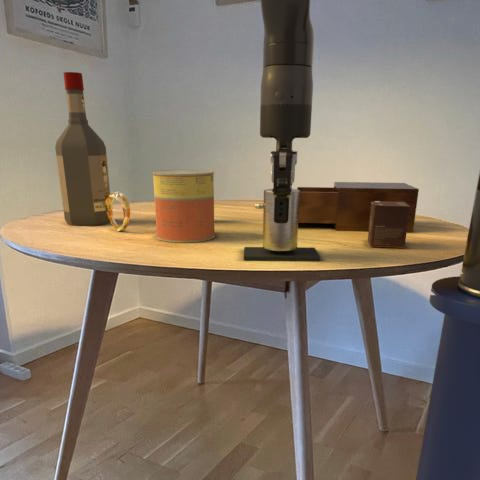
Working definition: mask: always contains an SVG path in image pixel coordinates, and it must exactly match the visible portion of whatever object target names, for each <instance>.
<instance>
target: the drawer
mask: <svg viewBox="0 0 480 480" xmlns="http://www.w3.org/2000/svg"><path fill="white" fill-rule="evenodd" d="M291 187H292V188H293V185H292V186H291ZM296 189H297V190H300V199H299V220H298V224H301V223H302V224H333V223H335V224H336V217H337V204H338V192H339V191H338V190H337V189H336V188H334V186H333V187H330V186H329V187H323V186H321V187H320V186H319V187H318V186H297V188H296Z"/></svg>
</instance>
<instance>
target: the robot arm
mask: <svg viewBox="0 0 480 480" xmlns="http://www.w3.org/2000/svg"><path fill="white" fill-rule="evenodd" d="M260 7H261V16H262V24H263V32H264V33H263V45H262V46H263V49H262V50H263V51H262V52H263V53H262V54H263V55H262V76H261V83H260V106H259V107H260V108H259V110H260V111H259V112H260V114H259V136H260V137H261V138H263V139H275V141H276V142H275V143H276V145H275V150H271V151H270V164H271V172H270V173H271V175H270V180H271V183H272V184H273V186H272V188H271V189H272V192H273V195H274V198H275V200H274V222H275V223H287V222H288V219H289V198H290V196H291V189H293V184H294V182H295V177H296V165H297V163H298V150H297V151H296V150H295V151H294V150H293V141H294V139H308V138H309V137H310V136H311V130H312V129H311V128H312V111H313V97H314V96H313V93H314V78H313V64H314V63H313V62H314V42H315V41H314V40H315V39H314V27H313V26H314V25H313V24H312V20H311V12H310V11H311V9H310V8H311V0H260ZM291 186H292V187H291ZM466 237H467V238H466V243H465V247H464V248H465V249H464V253H463V258H462V259H463V260H462V265H461V273H460V274H459V276H460V280H459V283H458V289H459V290H460V291H461V292H462V293H464V294H467V295H469V296H472V297H476V298H479V299H480V170H479V172H478V177H477V181H476V189H475V193H474V199H473V205H472V210H471V215H470V221H469V226H468V232H467V236H466Z"/></svg>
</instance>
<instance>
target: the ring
mask: <svg viewBox="0 0 480 480" xmlns="http://www.w3.org/2000/svg"><path fill="white" fill-rule="evenodd" d="M115 200H117V201H118V202H119V204H120V205H121V208H122V212H123V222H122V225H118V223H117V221H116V219H115V217H114V213H113V205H114V201H115ZM105 205H106V211H107V215H108V218H109V220H110V221H109V223H110V224H111V225H112V227H113V229H115V230H116V231H117V232H123V231H124V230H126V229H127V228H128V226H129V223H130V220H131V206H130V202H129V200H128V199H127V197H126V194H124V193H123V192H122V191H121V190H117V191H116V190H112V191H111V193H110V195H108V198H107V199H106V203H105Z"/></svg>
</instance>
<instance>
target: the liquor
mask: <svg viewBox="0 0 480 480" xmlns="http://www.w3.org/2000/svg"><path fill="white" fill-rule="evenodd" d="M63 81H64V89H65V91H66V99H67V101H66V102H67V110H68V121H67V122H68V125H67V126H66V127H65V129H64V130H63V131H62V133H61V134H60V136H59V137H58V138H57V140H56V142H55V147H54V148H55V157H56V164H57V171H58V178H59V187H60V194H61V200H62V208H63V217H64V221H65V222H66V225H70V226H78V227H79V226H84V227H85V226H87V227H88V226H89V227H90V226H91V227H93V226H94V227H95V226H101V225H102V226H103V225H107V224H108V223H110V220H109V218H108V215H107V211H106V205H105V203H106V199H107V198H108V195H110V194H111V189H110V188H111V187H110V179H109V167H108V159H107V158H108V157H107V147H106V144H105V142H104V140H103V139H102V138H101V137H100V136H99V135H98V134H97V132H96V131H95V130H94V129H93V128H92V127H91V125H89V120H88V119H87V113H86V104H85V103H86V102H85V95H84V91H85V88H84V79H83V73H82V72H75V71H66V72H65V71H64V72H63Z"/></svg>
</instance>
